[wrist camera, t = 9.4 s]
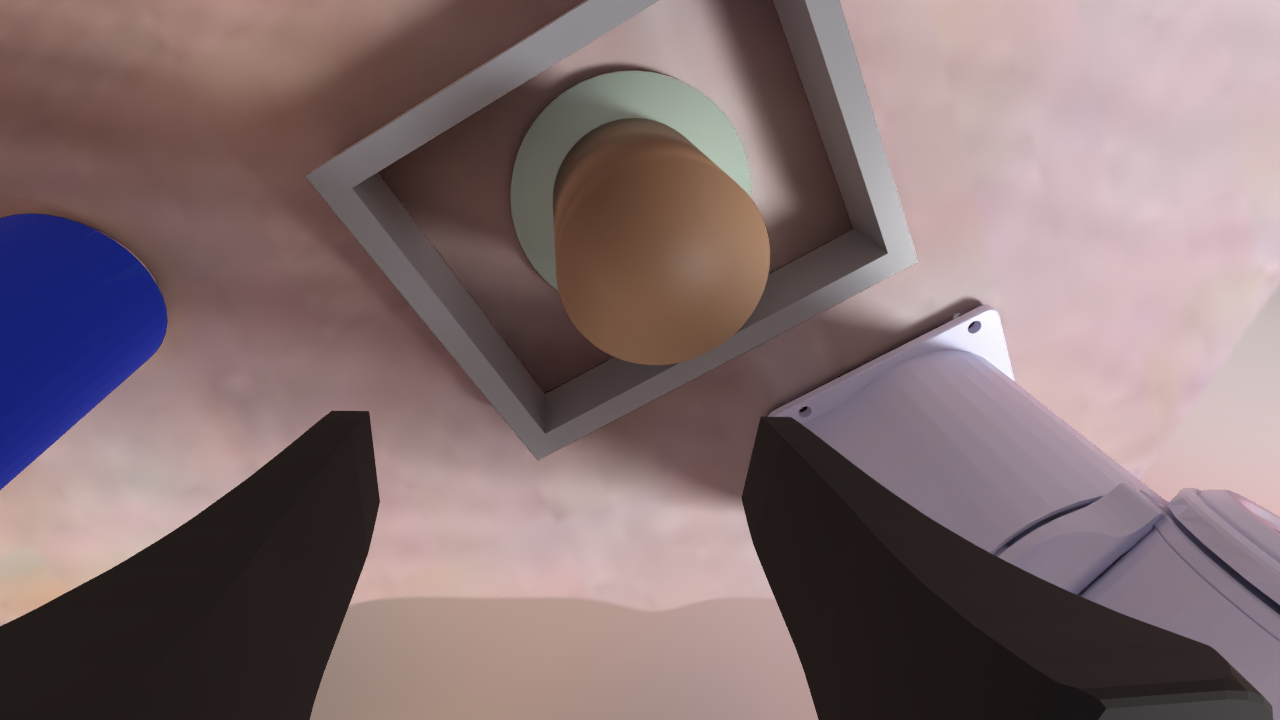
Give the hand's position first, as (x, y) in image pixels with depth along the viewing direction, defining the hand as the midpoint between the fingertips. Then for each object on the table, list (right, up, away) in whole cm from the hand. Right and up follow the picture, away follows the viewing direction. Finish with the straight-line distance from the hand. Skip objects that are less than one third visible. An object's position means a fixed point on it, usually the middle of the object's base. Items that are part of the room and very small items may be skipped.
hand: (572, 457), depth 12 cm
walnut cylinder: (+1, +7, +8) cm, 10 cm away
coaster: (+1, +7, +8) cm, 11 cm away
